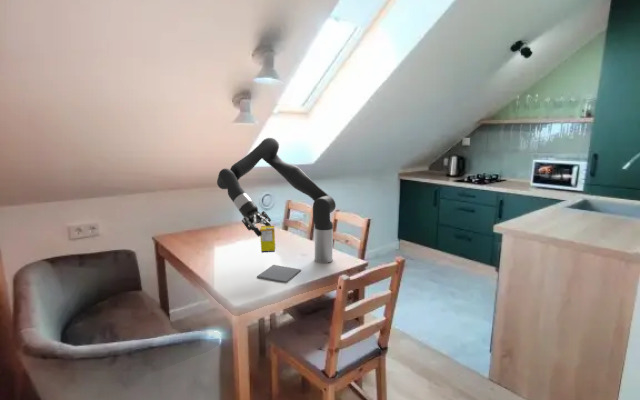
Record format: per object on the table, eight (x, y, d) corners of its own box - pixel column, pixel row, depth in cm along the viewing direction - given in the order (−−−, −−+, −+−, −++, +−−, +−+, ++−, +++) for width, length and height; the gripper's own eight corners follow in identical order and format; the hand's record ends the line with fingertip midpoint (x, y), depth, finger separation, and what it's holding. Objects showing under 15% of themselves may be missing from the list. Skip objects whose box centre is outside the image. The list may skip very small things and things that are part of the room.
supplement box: (275, 248, 170) (274, 225, 168) (274, 252, 165) (273, 228, 162) (262, 248, 170) (261, 225, 168) (261, 252, 164) (259, 229, 162)
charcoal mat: (273, 266, 181) (273, 264, 181) (301, 270, 176) (301, 269, 176) (257, 277, 168) (257, 276, 168) (286, 283, 162) (286, 281, 162)
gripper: (251, 207, 177) (271, 234, 174) (230, 213, 165) (251, 242, 162) (259, 197, 174) (280, 224, 170) (238, 203, 162) (260, 232, 158)
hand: (266, 233), depth 166 cm, fingers closed on supplement box, 7 cm apart
